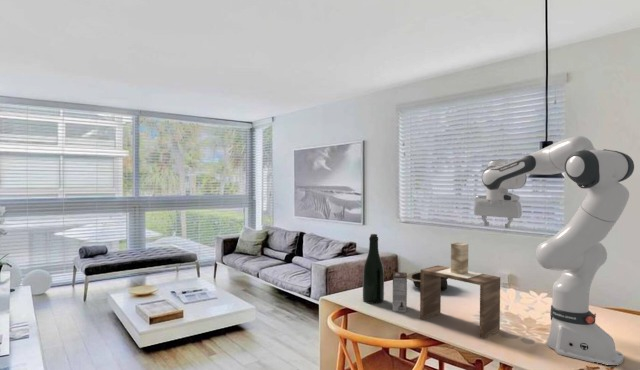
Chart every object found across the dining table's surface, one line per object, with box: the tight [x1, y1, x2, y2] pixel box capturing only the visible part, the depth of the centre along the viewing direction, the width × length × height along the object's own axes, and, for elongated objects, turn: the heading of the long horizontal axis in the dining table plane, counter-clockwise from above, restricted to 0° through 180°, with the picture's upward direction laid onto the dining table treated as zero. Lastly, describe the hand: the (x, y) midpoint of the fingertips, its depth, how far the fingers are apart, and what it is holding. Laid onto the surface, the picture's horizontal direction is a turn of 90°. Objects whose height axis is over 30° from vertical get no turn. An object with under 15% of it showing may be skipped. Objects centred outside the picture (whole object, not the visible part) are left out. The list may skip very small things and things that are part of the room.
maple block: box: [450, 242, 469, 275], centre depth 164 cm, size 5×5×12 cm
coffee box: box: [392, 271, 408, 313], centre depth 183 cm, size 9×6×16 cm
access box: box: [419, 265, 501, 339], centre depth 164 cm, size 28×14×21 cm, turn 41°
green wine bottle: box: [362, 233, 385, 304], centre depth 195 cm, size 10×10×33 cm
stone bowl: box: [407, 270, 449, 291], centre depth 220 cm, size 25×25×9 cm
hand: (496, 226), depth 177 cm, fingers open, 8 cm apart
